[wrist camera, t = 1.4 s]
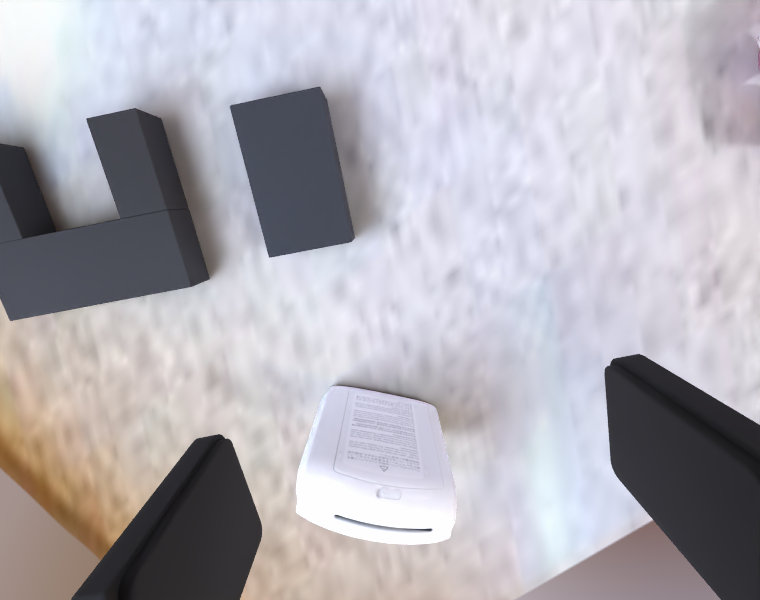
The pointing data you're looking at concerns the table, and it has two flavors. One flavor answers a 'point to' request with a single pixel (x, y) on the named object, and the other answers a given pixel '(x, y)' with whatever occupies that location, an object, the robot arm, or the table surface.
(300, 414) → the table surface
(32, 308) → the base pad
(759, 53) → the video game controller
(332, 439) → the photo printer
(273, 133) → the pad
